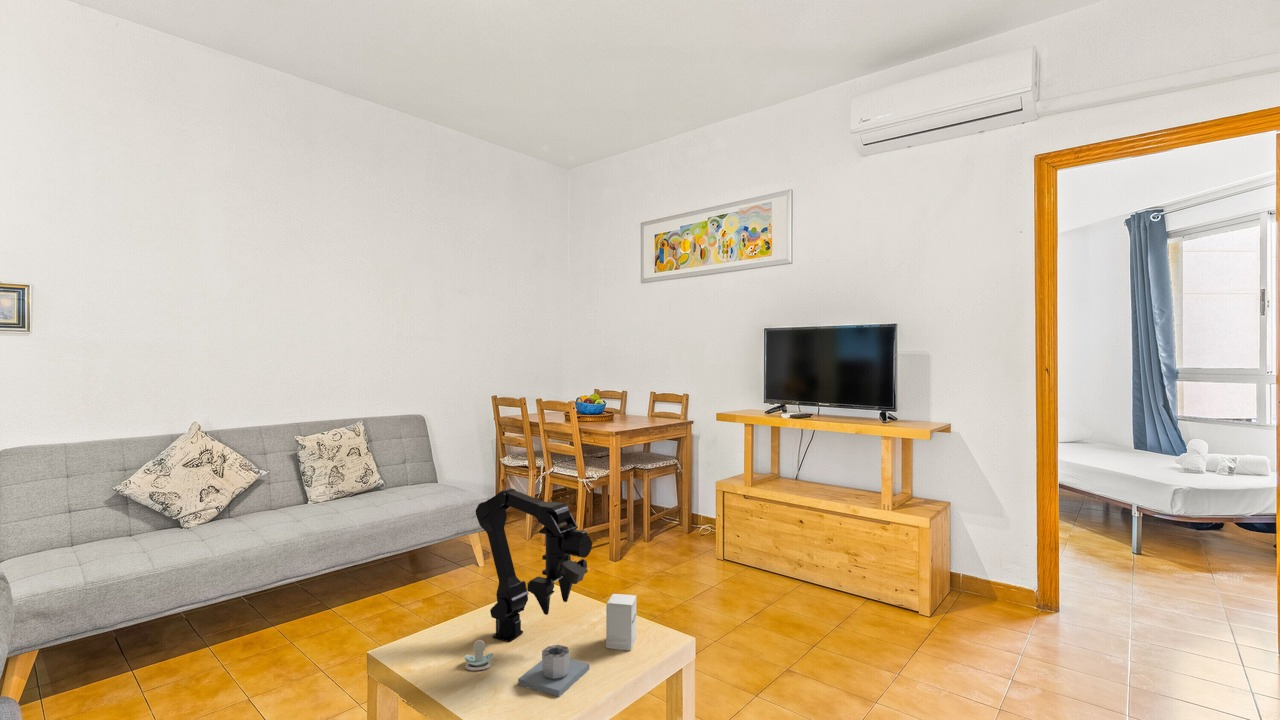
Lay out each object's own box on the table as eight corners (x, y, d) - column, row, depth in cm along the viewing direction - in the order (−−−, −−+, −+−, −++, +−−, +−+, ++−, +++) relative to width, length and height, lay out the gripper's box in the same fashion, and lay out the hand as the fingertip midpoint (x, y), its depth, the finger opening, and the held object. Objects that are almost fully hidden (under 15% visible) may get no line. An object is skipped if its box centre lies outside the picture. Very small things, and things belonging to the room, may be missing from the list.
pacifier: (491, 671, 152) (494, 659, 158) (491, 647, 152) (494, 636, 158) (462, 673, 151) (466, 661, 157) (462, 649, 151) (465, 638, 157)
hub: (537, 674, 146) (537, 654, 146) (552, 662, 152) (552, 643, 152) (559, 680, 144) (559, 659, 144) (573, 668, 149) (573, 648, 149)
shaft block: (518, 684, 146) (518, 667, 146) (550, 659, 158) (550, 643, 158) (559, 696, 140) (559, 678, 140) (589, 669, 153) (589, 652, 153)
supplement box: (631, 651, 163) (631, 605, 163) (605, 648, 164) (605, 602, 164) (637, 638, 170) (637, 594, 170) (612, 636, 171) (612, 592, 171)
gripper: (561, 565, 150) (561, 627, 150) (598, 545, 167) (598, 600, 167) (526, 559, 155) (526, 619, 155) (565, 540, 172) (565, 594, 172)
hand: (555, 607), depth 162 cm, fingers open, 9 cm apart
